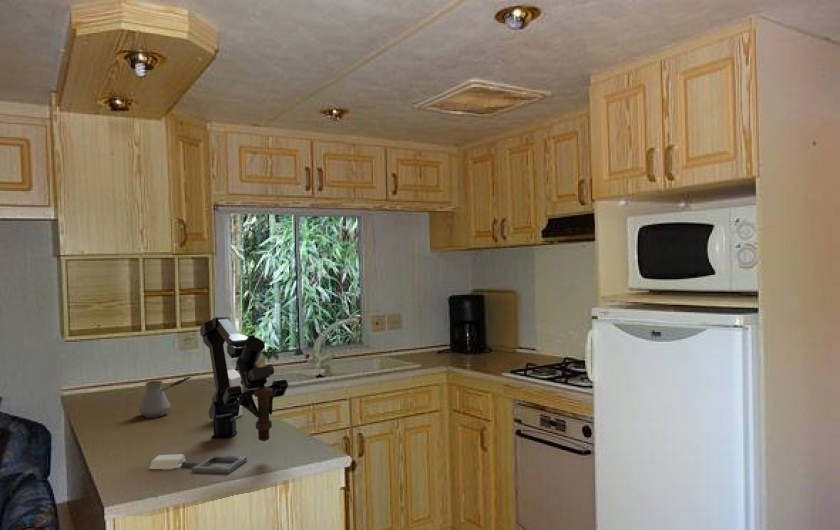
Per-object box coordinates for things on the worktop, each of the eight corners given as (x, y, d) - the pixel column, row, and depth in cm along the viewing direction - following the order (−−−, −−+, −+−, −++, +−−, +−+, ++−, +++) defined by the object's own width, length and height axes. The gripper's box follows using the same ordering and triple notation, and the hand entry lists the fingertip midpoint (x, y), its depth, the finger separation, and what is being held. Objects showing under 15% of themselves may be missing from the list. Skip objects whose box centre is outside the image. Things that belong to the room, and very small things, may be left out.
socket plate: (174, 471, 170) (173, 467, 170) (195, 459, 181) (195, 455, 181) (228, 473, 167) (228, 469, 167) (246, 460, 178) (246, 456, 178)
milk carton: (242, 415, 234) (241, 365, 234) (232, 419, 227) (230, 369, 227) (226, 414, 236) (225, 365, 236) (215, 419, 229) (214, 368, 229)
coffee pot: (132, 419, 233) (131, 379, 233) (149, 411, 245) (148, 374, 245) (185, 419, 231) (184, 379, 231) (199, 411, 242) (198, 373, 242)
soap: (188, 462, 180) (187, 452, 180) (179, 470, 173) (179, 459, 173) (157, 463, 179) (156, 453, 179) (147, 471, 173) (147, 461, 173)
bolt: (266, 435, 184) (265, 386, 183) (277, 439, 181) (276, 389, 180) (250, 440, 179) (249, 390, 179) (261, 444, 176) (260, 392, 175)
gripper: (225, 359, 177) (240, 404, 168) (285, 352, 188) (302, 394, 179) (216, 382, 183) (230, 427, 174) (275, 374, 194) (291, 415, 186)
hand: (264, 415), depth 178 cm, fingers closed on bolt, 4 cm apart
